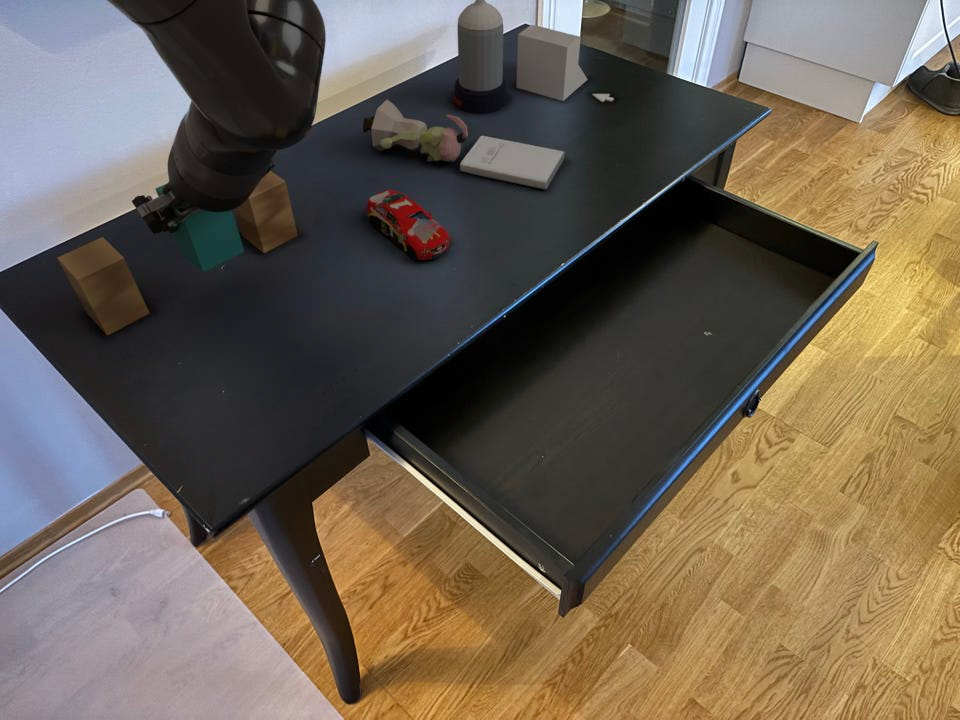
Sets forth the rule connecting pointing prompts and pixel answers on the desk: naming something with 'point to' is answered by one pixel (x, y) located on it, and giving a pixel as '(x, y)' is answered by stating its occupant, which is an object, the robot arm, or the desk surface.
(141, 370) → the desk surface
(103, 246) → the block left
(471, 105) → the humidifier
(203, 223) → the teal block
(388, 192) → the race car
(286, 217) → the block right
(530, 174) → the hard drive
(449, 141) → the figurine
